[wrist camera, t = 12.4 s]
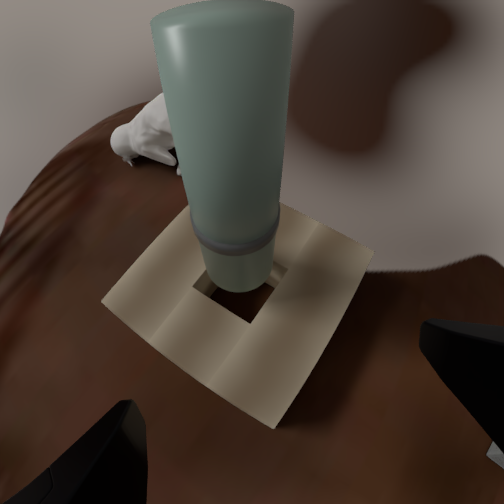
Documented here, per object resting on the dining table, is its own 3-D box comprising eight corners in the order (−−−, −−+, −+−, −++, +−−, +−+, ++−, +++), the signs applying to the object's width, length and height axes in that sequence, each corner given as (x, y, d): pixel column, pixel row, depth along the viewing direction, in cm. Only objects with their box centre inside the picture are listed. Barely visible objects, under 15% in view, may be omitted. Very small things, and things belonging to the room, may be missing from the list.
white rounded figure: (192, 107, 23) (81, 124, 25) (211, 178, 30) (113, 181, 32) (210, 75, 26) (109, 91, 28) (224, 140, 33) (133, 145, 35)
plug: (287, 252, 19) (321, 9, 7) (248, 307, 17) (239, 38, 5) (230, 222, 20) (211, -5, 8) (190, 270, 18) (117, 30, 6)
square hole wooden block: (359, 276, 25) (374, 251, 21) (270, 427, 19) (273, 429, 15) (222, 204, 29) (219, 173, 25) (121, 320, 23) (100, 301, 19)
